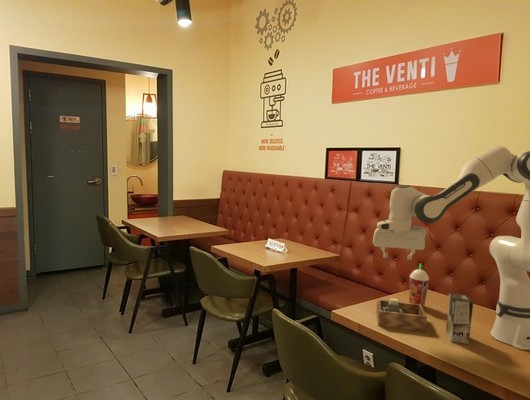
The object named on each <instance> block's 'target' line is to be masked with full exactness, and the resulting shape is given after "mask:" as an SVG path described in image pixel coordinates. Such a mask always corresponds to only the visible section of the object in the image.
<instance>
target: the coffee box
mask: <svg viewBox="0 0 530 400" xmlns="http://www.w3.org/2000/svg"><path fill="white" fill-rule="evenodd" d="M473 307H474V301H473V300H472V299H471V298H470V297H469V296H468V295H467V294H466V293H465V294H464V293H451V292H450V293H448V302H447V313H446V326H445V333H446V335H447V337H448V338H449V340H450V341H451V342H453V343H459V344H466V345H469V343H470V335H471V325H472V317H473Z"/></svg>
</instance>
